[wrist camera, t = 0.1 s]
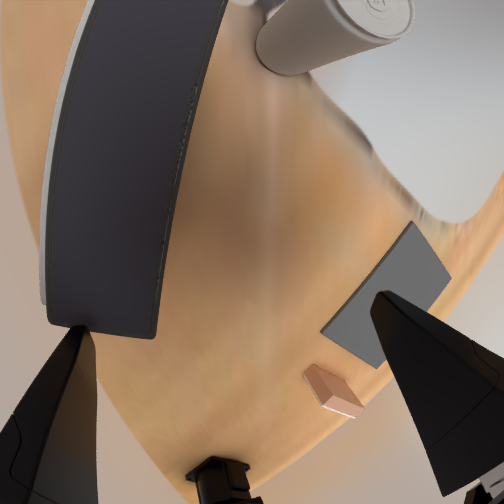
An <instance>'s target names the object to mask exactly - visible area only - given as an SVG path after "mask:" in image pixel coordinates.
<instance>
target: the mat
mask: <svg viewBox="0 0 504 504" xmlns="http://www.w3.org/2000/svg"><path fill="white" fill-rule="evenodd" d="M451 279H452V278H451V276H450V275H449V273H448V272H447V270H446V269H445V267H444V265H443V264H442V262H441V261H440V259H439V258H438V256H437V255H436V253H435V252H434V250H433V249H432V247H431V246H430V244H429V243H428V242H427V240H426V239H425V237H424V236H423V234H422V233H421V232H420V230H419V229H418V227H417V226H416V225H415V223H414V222H412V221H411V222H410V223H409V224H408V226H407V227H406V228H405V230H404V231H403V232H402V234H401V235H400V236H399V238H398V239H397V240H396V242H395V243H394V244H393V245H392V247H391V248H390V249H389V251H388V252H387V253H386V254H385V256H384V257H383V258H382V259H381V261H380V262H379V263H378V264H377V266H376V267H375V268H374V269H373V271H372V272H371V273H370V274H369V276H368V277H367V278H366V279H365V280H364V282H363V283H362V284H361V285H360V286H359V288H358V289H357V290H356V291H355V292H354V294H353V295H352V296H351V297H350V298H349V299H348V301H347V302H346V303H345V304H344V305H343V306H342V307H341V309H340V310H339V311H338V312H337V313H336V314H335V315H334V317H333V318H332V319H331V320H330V321H329V322H328V323H327V324H326V326H325V327H324V328H323V329H322V330H321V331H320V332H321V334H323V335H324V336H326V337H327V338H329V339H330V340H332V341H333V342H335V343H337V344H338V345H340V346H341V347H343V348H344V349H346V350H347V351H349V352H351V353H352V354H354V355H355V356H357V357H358V358H360V359H361V360H363V361H365V362H366V363H368V364H369V365H371V366H373V367H374V368H376V369H377V368H378V367H379V366H380V365H381V364H382V363H383V362H384V361H385V360H386V357H385V355H384V352H383V350H382V347H381V344H380V341H379V338H378V335H377V333H376V330H375V327H374V324H373V322H372V319H371V316H370V308H371V306H372V303H373V301H374V298H375V296H376V294H377V292H379V291H383V290H390V291H392V292H394V293H395V294H397V295H399V296H400V297H402V298H404V299H406V300H407V301H409V302H411V303H412V304H414V305H416V306H417V307H419V308H421V309H422V310H424V311H426V312H427V311H428V309H429V308H430V307H431V305H432V304H433V303H434V302H435V300H436V299H437V298H438V296H439V295H440V294H441V292H442V291H443V290H444V288H445V287H446V286H447V284H448V283H449V281H450V280H451Z"/></svg>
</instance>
